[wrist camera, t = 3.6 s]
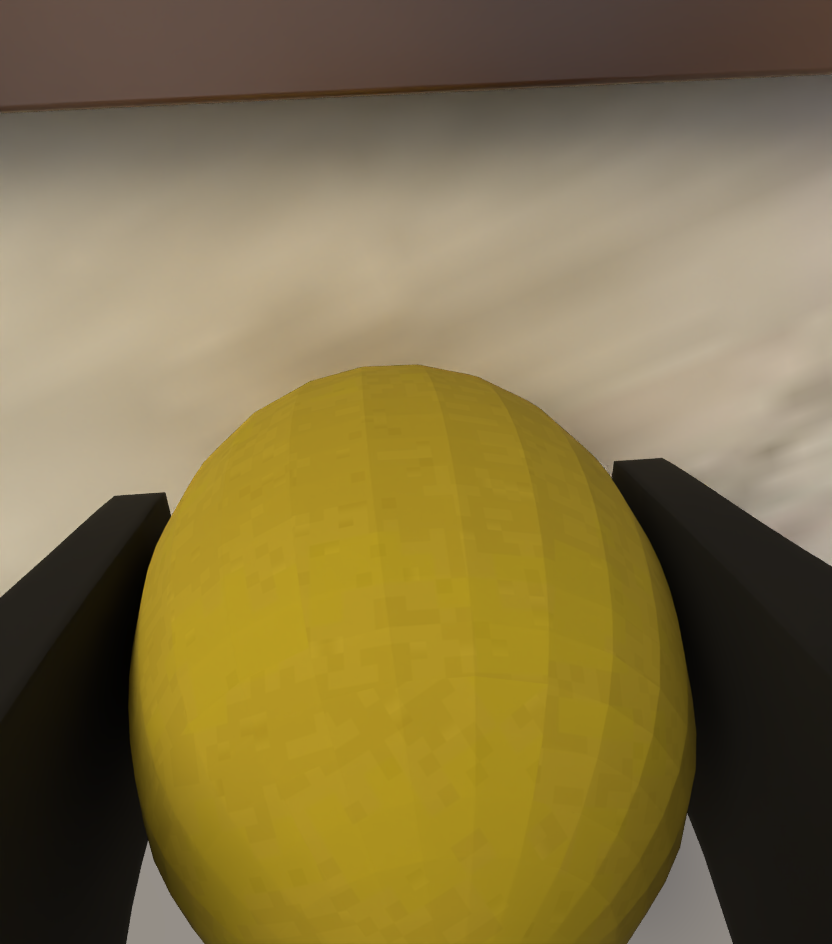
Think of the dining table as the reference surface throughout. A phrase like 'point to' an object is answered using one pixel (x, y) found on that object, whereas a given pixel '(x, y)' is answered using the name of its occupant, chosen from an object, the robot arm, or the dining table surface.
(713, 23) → the board
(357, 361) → the dining table surface
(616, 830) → the lemon
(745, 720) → the robot arm
